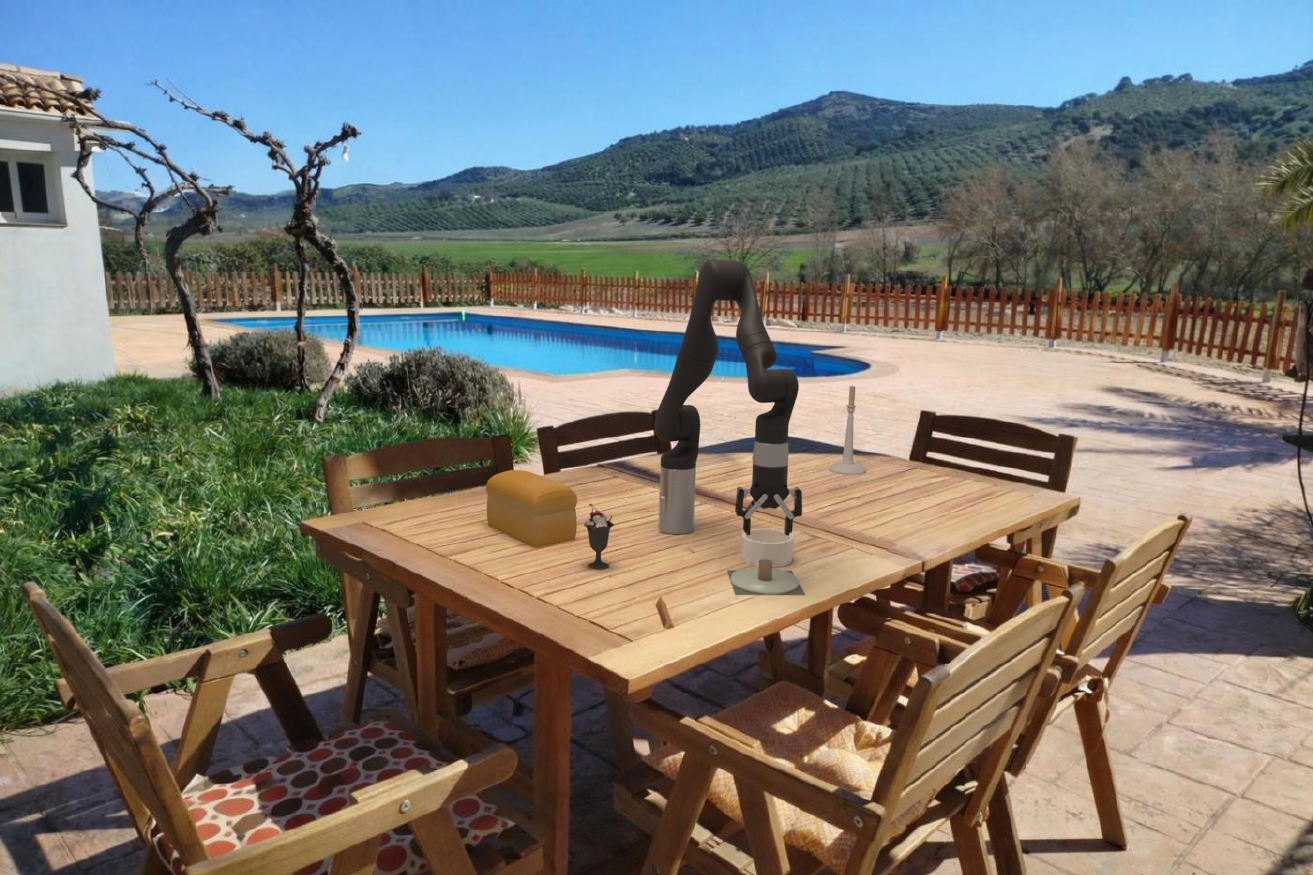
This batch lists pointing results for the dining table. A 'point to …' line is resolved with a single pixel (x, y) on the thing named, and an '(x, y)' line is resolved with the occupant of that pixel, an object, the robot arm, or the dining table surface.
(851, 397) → the candlestick
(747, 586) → the lid
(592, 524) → the sundae
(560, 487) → the bread
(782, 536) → the bowl
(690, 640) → the dining table surface
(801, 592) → the mat
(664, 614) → the chocolate bar
